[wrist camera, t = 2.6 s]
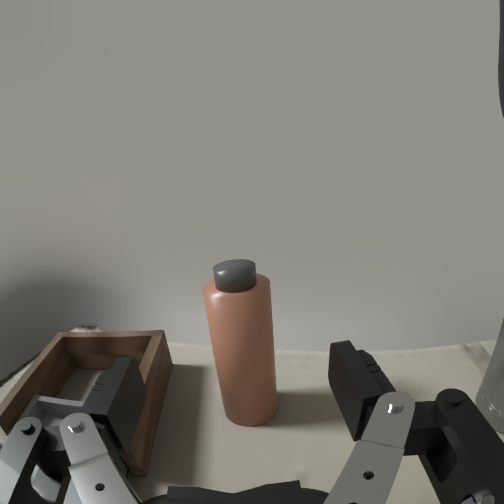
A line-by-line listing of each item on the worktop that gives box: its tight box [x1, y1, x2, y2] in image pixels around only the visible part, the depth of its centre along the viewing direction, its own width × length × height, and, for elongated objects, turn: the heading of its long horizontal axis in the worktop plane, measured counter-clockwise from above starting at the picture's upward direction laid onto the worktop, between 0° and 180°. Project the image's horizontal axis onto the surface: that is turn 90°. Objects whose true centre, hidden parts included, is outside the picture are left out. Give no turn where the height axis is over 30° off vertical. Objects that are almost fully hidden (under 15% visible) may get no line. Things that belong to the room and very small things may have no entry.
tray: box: [0, 395, 128, 504], centre depth 16 cm, size 16×15×6 cm
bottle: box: [203, 259, 277, 426], centre depth 25 cm, size 5×5×15 cm
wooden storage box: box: [0, 330, 172, 476], centre depth 26 cm, size 15×17×5 cm
